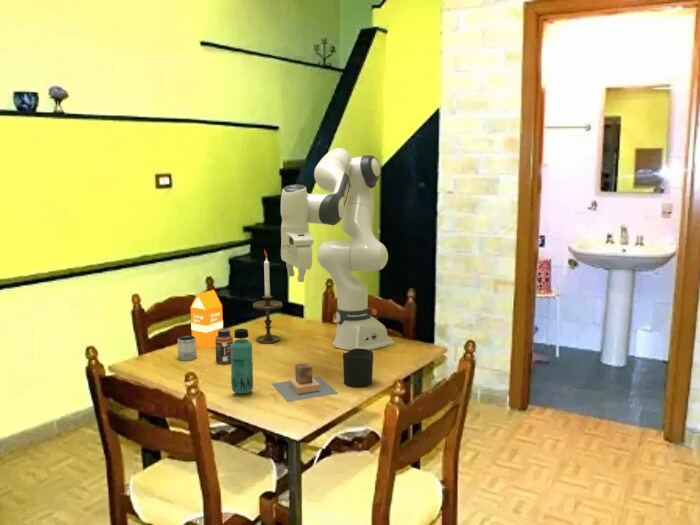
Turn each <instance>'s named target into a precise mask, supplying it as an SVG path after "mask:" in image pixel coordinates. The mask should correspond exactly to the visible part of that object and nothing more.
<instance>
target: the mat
mask: <svg viewBox="0 0 700 525" xmlns="http://www.w3.org/2000/svg"><path fill="white" fill-rule="evenodd" d="M312 378H313V379H314V380H316V381H317V382H318V383H319V384H320V391H315V392H309V393H302V394H297V393H296V392H295V391H294V390H293V389H292V388H291V387H290V386H289V380H286V381H281V382H274V383H271V385H272V386H273V387H274V389H275V390H276V391H277V392H278V393H279V395H281V397H282V398H283V399H284V400H285V401H286V402H287V403H290V402H295V401H302V400H308V399H309V400H310V399H313V398H320V397H326V396H331V395H333V396H334V395H338V394H339V392H338V391H337V390H336V389H334V388H333V387H332V386H331V385H330V384H329V383H327V382H326V381H325V380H324V379H323V378H322V377H320V376H314V377H313V376H312Z"/></svg>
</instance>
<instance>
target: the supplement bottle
mask: <svg viewBox="0 0 700 525" xmlns="http://www.w3.org/2000/svg"><path fill="white" fill-rule="evenodd" d="M233 338H234V336H232V335H231V330H230V329H229V328H223V329H219V330H218V336H216V338H215V346H214V347H215V362H216V363H217V364H220V365H221V364H222V365H226V364H231V344H232V343H233V342H234V339H233Z"/></svg>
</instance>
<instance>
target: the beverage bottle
mask: <svg viewBox="0 0 700 525" xmlns="http://www.w3.org/2000/svg"><path fill="white" fill-rule="evenodd" d="M233 333H234V334H233V335H234V336H233V338H235V340H233V343H232V344H231V363H230V370H231V371H230V373H231V377H230V378H231V380H230V381H231V383H230V384H231V390H232V392H233V393H236V394H246V393H249V392H251V391H253V388H254V374H253V373H254V371H253V370H254V367H253V366H254V363H253V343H252V342H251V341H250V340H249V339H246V338H248V337H249V330H248V329H247V328H237V329H235V330H234V332H233Z"/></svg>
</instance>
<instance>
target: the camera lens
mask: <svg viewBox="0 0 700 525" xmlns="http://www.w3.org/2000/svg"><path fill="white" fill-rule="evenodd" d="M177 354H178V359H179V360H180V361H182V362H183V361H184V362H187V361H193V360H195V359H196V358H197V346H196V338H195V337H194V336H192V334H189V335H188V334H187V335H181V336H179V337H178V338H177Z"/></svg>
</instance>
